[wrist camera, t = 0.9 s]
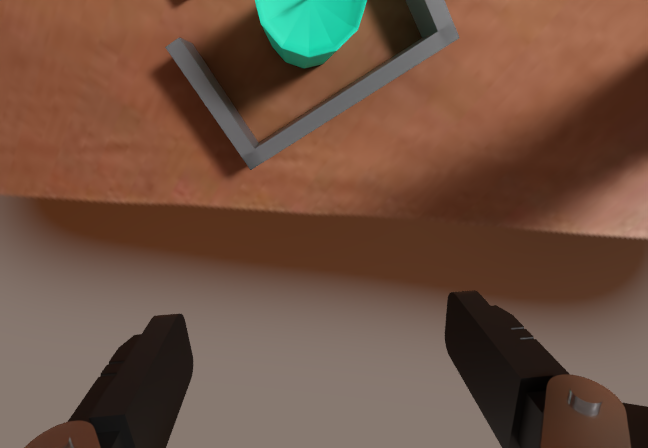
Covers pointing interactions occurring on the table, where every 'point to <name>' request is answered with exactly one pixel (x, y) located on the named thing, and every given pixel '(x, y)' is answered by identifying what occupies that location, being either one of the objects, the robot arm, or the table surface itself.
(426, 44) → the bay
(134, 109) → the table surface
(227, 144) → the table surface
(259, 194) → the table surface
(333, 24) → the candle
